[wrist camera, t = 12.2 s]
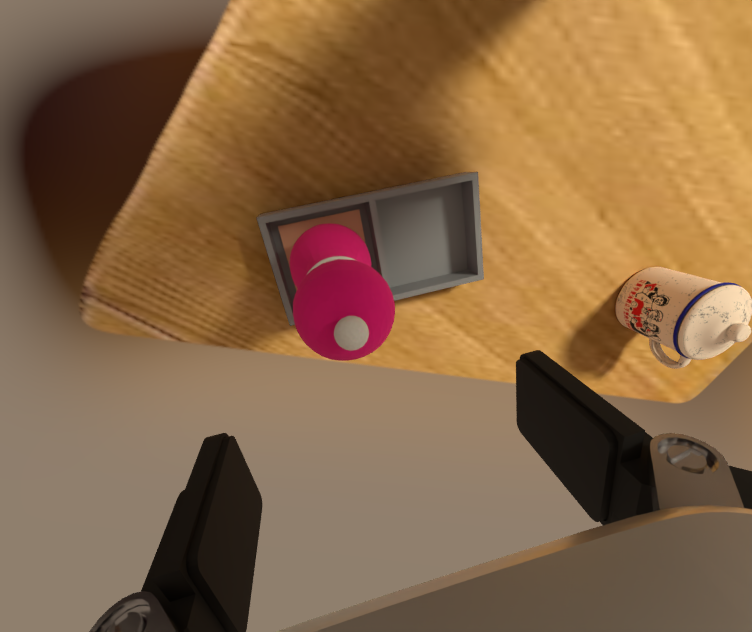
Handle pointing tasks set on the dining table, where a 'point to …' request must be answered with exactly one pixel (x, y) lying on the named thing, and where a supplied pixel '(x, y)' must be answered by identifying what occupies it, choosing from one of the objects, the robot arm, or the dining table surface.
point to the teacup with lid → (684, 313)
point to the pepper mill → (339, 294)
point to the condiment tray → (393, 234)
